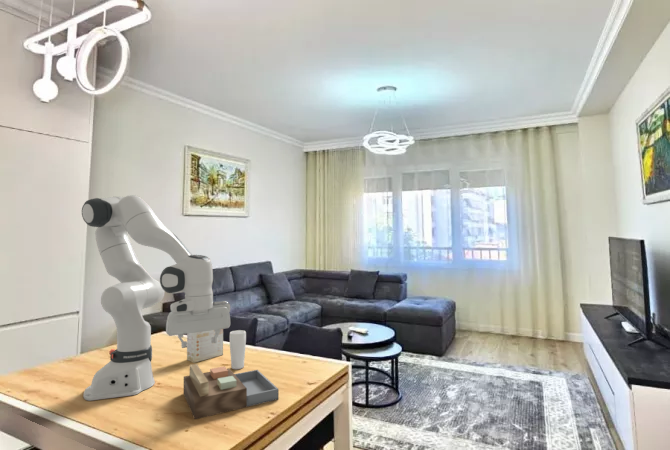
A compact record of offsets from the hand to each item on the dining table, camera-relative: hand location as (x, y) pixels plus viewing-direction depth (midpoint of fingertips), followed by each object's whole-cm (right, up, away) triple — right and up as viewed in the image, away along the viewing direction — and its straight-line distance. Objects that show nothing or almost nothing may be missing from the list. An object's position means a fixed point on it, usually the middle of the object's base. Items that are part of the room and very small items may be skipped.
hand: (199, 345), depth 123 cm
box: (+16, -19, +9) cm, 26 cm away
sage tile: (+10, -13, -1) cm, 16 cm away
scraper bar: (0, -13, -1) cm, 13 cm away
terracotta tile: (+4, -14, +8) cm, 16 cm away
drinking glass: (+4, -21, +34) cm, 40 cm away
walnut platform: (+4, -19, +2) cm, 20 cm away
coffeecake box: (-15, -22, +48) cm, 55 cm away
